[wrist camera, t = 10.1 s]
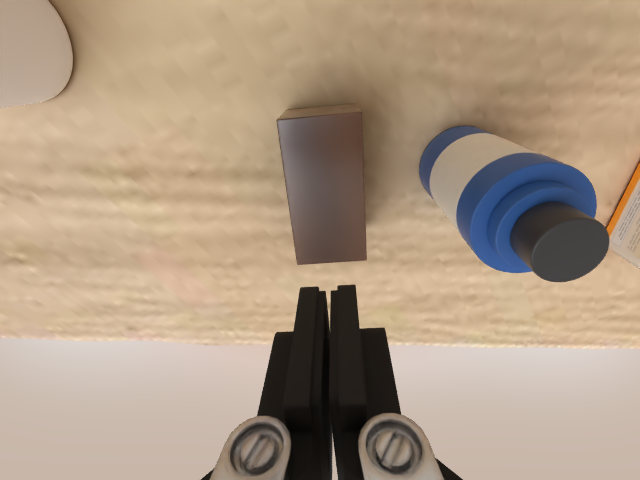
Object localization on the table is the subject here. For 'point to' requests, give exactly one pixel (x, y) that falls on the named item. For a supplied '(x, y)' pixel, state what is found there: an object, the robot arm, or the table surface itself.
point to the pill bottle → (32, 52)
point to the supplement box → (627, 223)
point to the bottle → (515, 204)
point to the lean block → (325, 182)
